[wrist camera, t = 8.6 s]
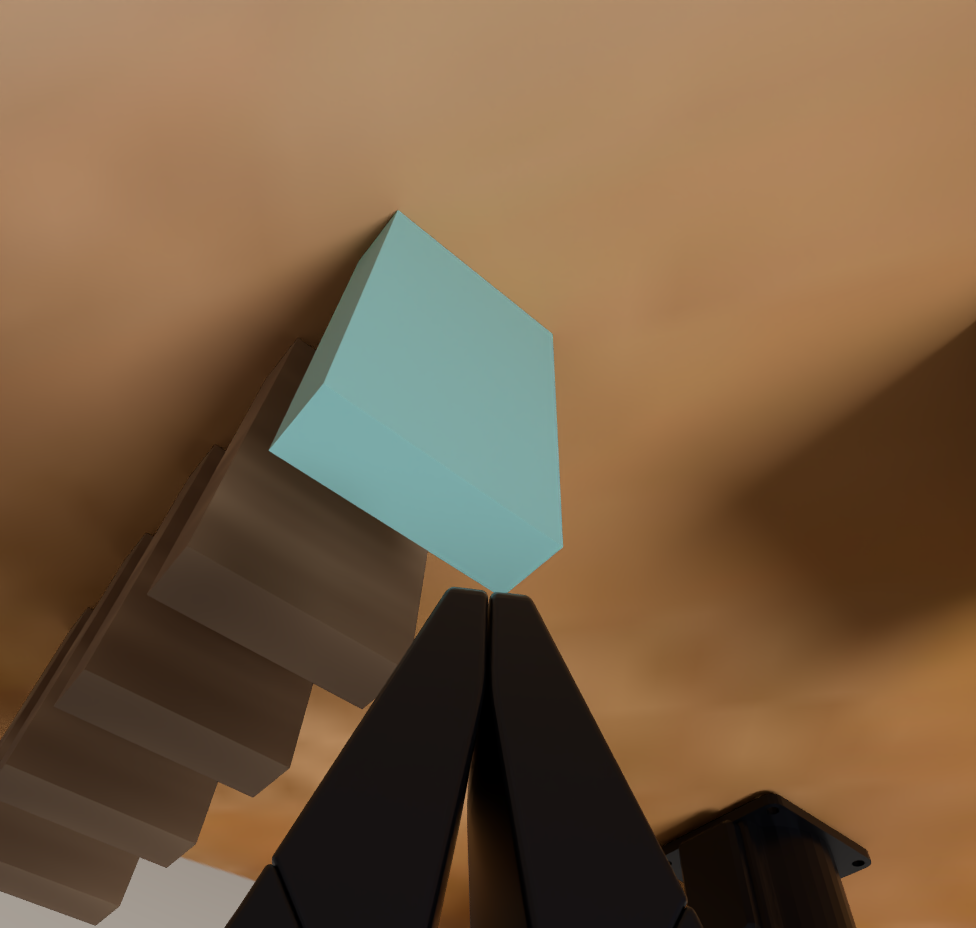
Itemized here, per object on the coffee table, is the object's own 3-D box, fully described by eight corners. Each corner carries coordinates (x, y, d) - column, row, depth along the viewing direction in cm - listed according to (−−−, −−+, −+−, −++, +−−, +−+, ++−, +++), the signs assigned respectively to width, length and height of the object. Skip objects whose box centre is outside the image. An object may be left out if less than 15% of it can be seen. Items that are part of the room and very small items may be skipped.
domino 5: (397, 210, 18) (323, 384, 12) (552, 334, 20) (562, 547, 13) (358, 261, 19) (268, 451, 12) (511, 376, 21) (502, 597, 14)
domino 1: (214, 444, 22) (84, 668, 16) (355, 532, 24) (290, 767, 17) (188, 478, 23) (53, 706, 16) (325, 561, 25) (252, 797, 18)
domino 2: (146, 532, 24) (5, 763, 18) (279, 607, 26) (195, 844, 19) (123, 561, 25) (-19, 793, 18) (255, 632, 27) (166, 867, 20)
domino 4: (297, 337, 20) (187, 546, 14) (444, 441, 22) (408, 671, 15) (265, 378, 21) (146, 594, 14) (410, 476, 23) (362, 709, 16)
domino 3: (87, 607, 26) (-58, 839, 20) (215, 672, 28) (119, 906, 21) (69, 631, 27) (-77, 862, 21) (194, 693, 29) (95, 925, 22)
